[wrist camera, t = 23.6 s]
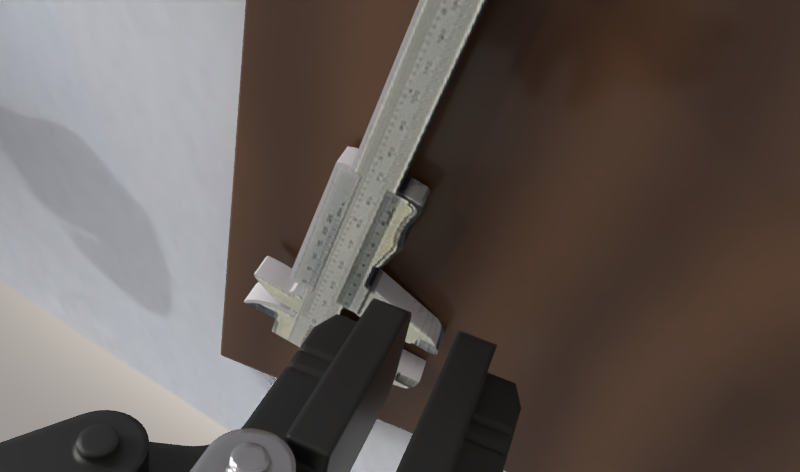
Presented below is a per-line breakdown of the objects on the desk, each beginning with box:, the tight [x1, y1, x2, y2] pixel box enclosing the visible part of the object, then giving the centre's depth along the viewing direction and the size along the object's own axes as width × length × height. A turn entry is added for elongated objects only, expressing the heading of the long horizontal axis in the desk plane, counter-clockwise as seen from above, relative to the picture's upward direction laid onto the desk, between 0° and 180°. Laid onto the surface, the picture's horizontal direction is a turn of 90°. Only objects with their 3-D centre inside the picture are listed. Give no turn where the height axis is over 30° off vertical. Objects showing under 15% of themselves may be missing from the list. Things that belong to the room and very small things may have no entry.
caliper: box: [244, 0, 488, 388], centre depth 19 cm, size 20×1×6 cm
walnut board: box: [221, 0, 800, 472], centre depth 19 cm, size 24×22×1 cm
